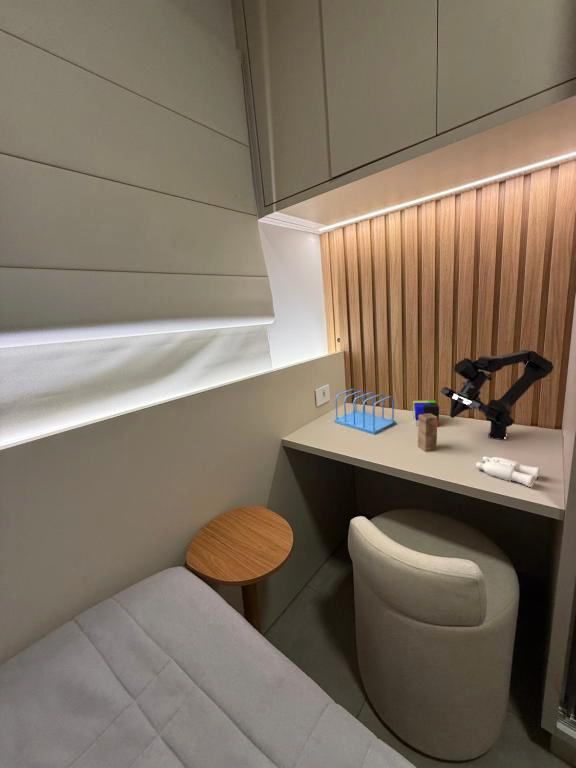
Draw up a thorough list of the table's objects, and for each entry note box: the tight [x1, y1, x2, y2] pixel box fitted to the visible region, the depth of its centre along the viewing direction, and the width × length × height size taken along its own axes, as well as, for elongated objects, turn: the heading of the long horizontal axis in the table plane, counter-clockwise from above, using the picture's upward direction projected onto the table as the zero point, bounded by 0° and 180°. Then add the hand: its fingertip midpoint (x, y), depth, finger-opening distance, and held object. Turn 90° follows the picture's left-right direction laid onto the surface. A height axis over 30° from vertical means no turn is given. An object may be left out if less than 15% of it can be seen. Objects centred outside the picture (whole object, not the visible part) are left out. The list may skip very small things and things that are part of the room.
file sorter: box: [334, 388, 397, 436], centre depth 161 cm, size 25×17×15 cm
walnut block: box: [417, 413, 438, 453], centre depth 129 cm, size 5×5×14 cm
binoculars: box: [475, 456, 540, 488], centre depth 108 cm, size 10×16×5 cm, turn 40°
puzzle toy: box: [412, 400, 440, 428], centre depth 156 cm, size 10×10×10 cm
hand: (451, 417), depth 130 cm, fingers closed
